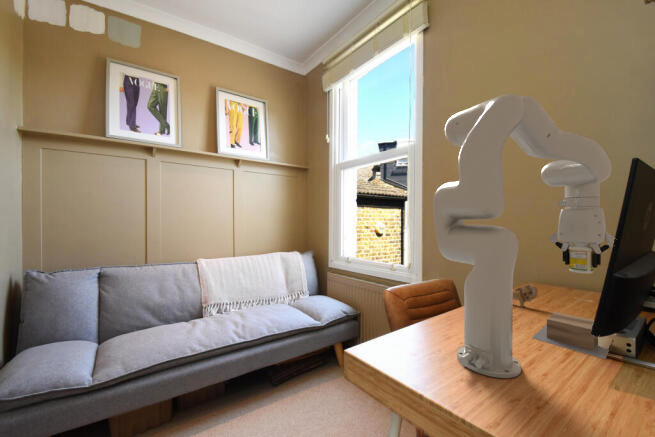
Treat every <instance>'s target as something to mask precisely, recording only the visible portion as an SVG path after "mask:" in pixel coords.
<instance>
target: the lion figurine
mask: <svg viewBox="0 0 655 437" xmlns="http://www.w3.org/2000/svg"><path fill="white" fill-rule="evenodd" d="M538 295H539V291H538V287H537V286H536V285H534V284H526V285H524V286H522V287H518V288H515V289H513V298H512V299H513V300H516V301H519V304H520V308H526V306H525V302H526V303H527V302H529V303H531V301H532V300H534V299H536V298H537V297H538Z"/></svg>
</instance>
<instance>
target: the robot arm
mask: <svg viewBox="0 0 655 437" xmlns="http://www.w3.org/2000/svg"><path fill="white" fill-rule="evenodd" d="M444 126H445V127H444V134H445V138H446V140H447V141H448V142H449V143H450V144H451V145H453V146H455V147H458V148H459V147H460V150H459V153H458V154H459V155H458V158H457V159H458V163H457V164H458V180H456V181H455V180H454V181H449V182H446V183H444V184H441V186H440V187H438V188H437V190H436V192H434V196H433V202H432V209H433V210H432V211H433V220H434V228H435V229H434V230H435V237H436V243H437V247H438V250H439V253H440V254H441V255H442V257H443V258H445V259H447V260H448V261H451V262H457V263H463V264H466V265H468V264H469V265H472V266H473V268H472V269H471V271H470V272H469V273H468V275H467V276H466V278H465V281H464V286H463V287H464V291H463V294H464V297H463V298H464V299H463V300H464V305H463V306H464V308H463V309H464V311H463V312H464V313H463V314H464V316H463V317H464V318H463V319H464V320H463V321H464V323H463V324H464V326H463V329H464V331H463V332H464V338H463V340H464V341H463V342H464V344H463V346H460V347H459V348H458V349H457V352H456V358H457V359H458V362H459V364H460V365H461V366H462V367H466V368H467V369H469V370H470V371H472V372H473V371H474V372H475V373H478V374H480V375H483V376H487V377H491V378H498V379H510V378H511V379H512V378H515V377H517V376H519V375H520V374H521V372H522V364H521V363H520V361H519V360H518V359H517V358H515V357H514V356H513V319H514V318H513V314H514V312H513V305H514V304H513V303H514V302H513V300H514V299H512V298H513V287H514V286H513V284H514V283H513V282H514V274H515V266H516V261H517V258H518V253H519V240H518V238H517V236H516V234H514V232H513V231H511V230H509V229H508V228H505V227H503V226H500V225H499V226H498V225H492V224H466V220H467V221H469V220H470V221H475V220H476V221H477V220H478V221H479V220H480V221H481V220H485V221H486V220H492V219H496V218H499V217H500V216H502V214H503V213H504V212H505V207H506V193H505V183H504V173H503V162H502V160H503V159H502V157H503V150H504V147H505V144H506V142H507V140H508V139H509V137H510V138H511V139H512V140H513V141H514V142H515V143H516V144H517V146H519V148H520V149H521V150H522V151H523V152H524V153H525V154H526V155H528V156H529V157H533V158H537V159H544V160H545V159H546V160H554V161H550V162H549V163H547V164H546V165H544V166H543V167H542V169H541V170H540V171H541V172H540V176H541V180H542V181H543V183H544V184H546V185H547V186H549V187H555V188H556V187H557V188H558V187H564V198H563V200H559V201H558V206H561V207H562V206H563V207H564V208H561V210H560V212H559V218H558V224H557V226H558V227H557V230H556V231H555V232H554V233H553V234H551V236H549V238H548V241H550V242H551V243H553V244H554V245H555V246H556V247H557V248H558V249H560V250H561V252H562V262H564V265H565V266H569V248H570V247H571V244H572V242H574V243H591V245H592V246H591V247H592V248H593V249H594V254H593V267H594V268H595V269H597V268H598V267H599V266H601V264H602V253H604V252H605V251H607V250H608V249H610V248H612V247H614V246H613V243H614V239H616V238H615V237H614V236H612V235H611V233H610V232H608V231H607V226H606V225H607V223H606V218H605V211H604V208H600V207H601V206H600V205H601V204H600V202H601V200H600V199H601V197H600V196H601V194H600V193H601V192H600V191H601V183H602V182H604V181H606V180H608V178H609V177H610V176H611V174H612V168H613V167H612V162H611V160H610V159H609V158H610V157H608V155H607V153H606V152H605V151H604V149H603V147H602V146H601V145H600V144H599V143H598V142H596V141H595V140H593V139H591V138H588V137H585V136H582V135H579V134H576V133H573V132H568V131H563V130H560V128H559V127H558V126H557V124H556V123H555V122H554V120H553V119H552V118H551V116H550V115H549V114H548V112H547V111H545V109H544V108H543V106H542V105H541V104H540V103H539V101H537V100H536V98H534V97H532V96H520V95H518V94H516V93H506V94H502V95H498V96H495V97H493V98H490V99H488V100H485V101H483V102H480V103H478V104H476V105H473V106H471V107H469V108H466V109H463V110H461V111H459V112H456V113H455V114H453V115H451V117H449V118H448V120H447V121H446V124H445V125H444ZM606 240H607V241H608V242H607V243H605V244H604V245H602V246H601V243H604V242H606ZM562 242H563V243H562ZM594 268H593V269H594Z"/></svg>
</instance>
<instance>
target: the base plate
mask: <svg viewBox="0 0 655 437" xmlns="http://www.w3.org/2000/svg"><path fill="white" fill-rule="evenodd" d="M531 339H533V340H537V341H540V342H544V343H547V344H550V345H553V346H557V347H561V348H564V349H568V350H572V351H574V352H578V353H581V354H586V355H589V356H592V357H596V358H599V359H603V360H606V359H607V357H608V354H609V351H610V350H608V349H604V348H602V347H600V346H598V342H597V343H596V345H595V347H594V349H593V350H590V349H586V348H583V347H579V346H576V345H572V344H568V343H565V342H561V341H557V340H554V339H550V338H547V323H545V325H544V326H543V327H542V328H541V329H539V331H538V332H536V333H535V334H534V335H533V336H532V337H531Z"/></svg>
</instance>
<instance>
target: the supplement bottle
mask: <svg viewBox="0 0 655 437" xmlns="http://www.w3.org/2000/svg"><path fill="white" fill-rule="evenodd" d="M571 244H572V245H570V246H569V264H568V270H569V272H572V273H578V274H593V273H594V267H593V254H594V251H595V250H594V248H593V246H591V245H592V243H574V242H571Z"/></svg>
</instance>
